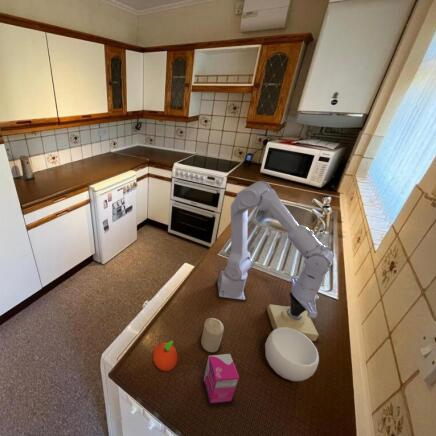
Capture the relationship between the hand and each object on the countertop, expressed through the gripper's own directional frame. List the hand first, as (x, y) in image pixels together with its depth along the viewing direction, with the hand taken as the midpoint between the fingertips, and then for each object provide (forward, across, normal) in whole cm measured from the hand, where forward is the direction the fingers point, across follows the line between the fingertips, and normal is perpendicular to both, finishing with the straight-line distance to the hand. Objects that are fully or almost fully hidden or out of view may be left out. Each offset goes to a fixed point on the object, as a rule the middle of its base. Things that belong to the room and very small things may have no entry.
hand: (294, 314), depth 78 cm
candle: (+5, -12, +27) cm, 30 cm away
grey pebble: (+2, 0, 0) cm, 2 cm away
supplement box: (+5, -25, +26) cm, 36 cm away
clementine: (+5, -20, +40) cm, 45 cm away
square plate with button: (+5, 0, 0) cm, 5 cm away
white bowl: (+5, -15, +6) cm, 17 cm away
